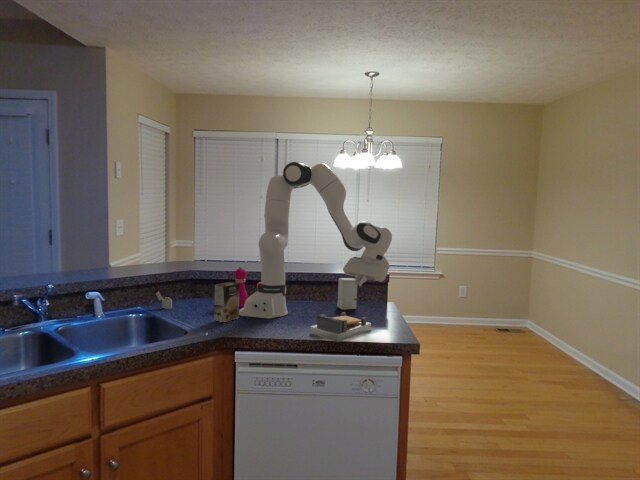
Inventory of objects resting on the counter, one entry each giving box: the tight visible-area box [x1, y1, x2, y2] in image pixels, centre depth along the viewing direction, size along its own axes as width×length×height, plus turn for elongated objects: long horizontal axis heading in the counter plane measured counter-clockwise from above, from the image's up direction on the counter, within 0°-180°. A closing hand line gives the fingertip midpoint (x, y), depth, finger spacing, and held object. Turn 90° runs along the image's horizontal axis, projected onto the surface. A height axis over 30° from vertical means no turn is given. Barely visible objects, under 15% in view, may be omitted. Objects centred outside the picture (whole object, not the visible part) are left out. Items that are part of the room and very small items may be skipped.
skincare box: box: [336, 277, 358, 310], centre depth 218 cm, size 8×6×15 cm
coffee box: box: [213, 281, 240, 323], centre depth 191 cm, size 9×6×16 cm
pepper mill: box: [234, 265, 249, 308], centre depth 216 cm, size 7×7×20 cm
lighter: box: [155, 291, 173, 310], centre depth 207 cm, size 7×2×8 cm, turn 95°
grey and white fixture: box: [309, 311, 372, 343], centre depth 179 cm, size 22×14×7 cm, turn 138°
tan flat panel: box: [332, 314, 362, 325], centre depth 180 cm, size 15×9×1 cm, turn 139°
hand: (357, 284), depth 186 cm, fingers closed
